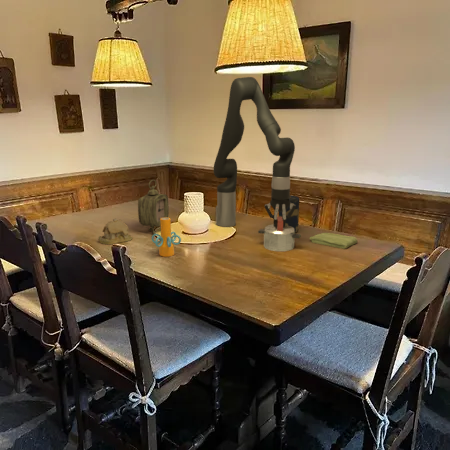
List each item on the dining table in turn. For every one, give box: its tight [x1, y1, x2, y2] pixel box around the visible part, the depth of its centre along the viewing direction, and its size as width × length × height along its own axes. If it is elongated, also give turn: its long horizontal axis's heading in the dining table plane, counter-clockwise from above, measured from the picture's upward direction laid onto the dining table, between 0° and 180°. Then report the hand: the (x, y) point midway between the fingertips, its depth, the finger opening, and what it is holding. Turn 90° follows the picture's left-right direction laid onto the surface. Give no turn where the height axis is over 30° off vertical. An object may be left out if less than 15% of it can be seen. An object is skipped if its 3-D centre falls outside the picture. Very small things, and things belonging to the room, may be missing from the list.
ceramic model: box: [98, 218, 133, 245], centre depth 191 cm, size 14×11×10 cm
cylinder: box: [151, 217, 182, 258], centre depth 171 cm, size 12×10×15 cm
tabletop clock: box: [137, 179, 169, 235], centre depth 203 cm, size 14×9×25 cm, turn 161°
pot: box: [257, 228, 302, 252], centre depth 182 cm, size 18×12×7 cm
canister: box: [278, 195, 300, 233], centre depth 203 cm, size 10×10×18 cm
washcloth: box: [309, 232, 358, 250], centre depth 188 cm, size 13×18×3 cm
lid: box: [264, 216, 294, 236], centre depth 179 cm, size 12×12×6 cm
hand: (279, 227), depth 181 cm, fingers closed on lid
